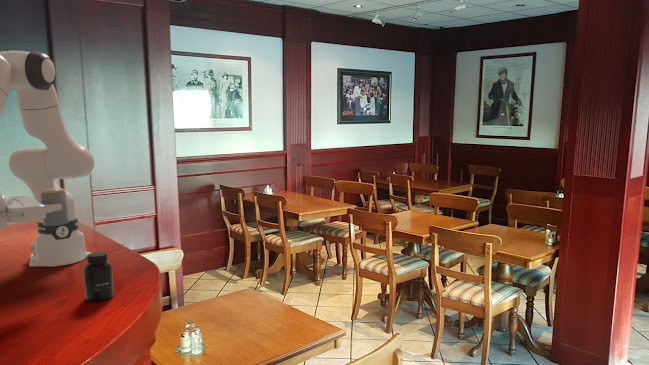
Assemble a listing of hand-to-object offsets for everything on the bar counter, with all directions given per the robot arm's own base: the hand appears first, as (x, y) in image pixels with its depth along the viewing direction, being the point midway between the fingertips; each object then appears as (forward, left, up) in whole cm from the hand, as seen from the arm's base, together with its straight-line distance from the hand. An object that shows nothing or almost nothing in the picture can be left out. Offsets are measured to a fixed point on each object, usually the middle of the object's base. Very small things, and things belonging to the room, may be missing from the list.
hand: (58, 204), depth 130 cm
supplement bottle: (+10, +6, -25) cm, 28 cm away
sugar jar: (0, -1, -5) cm, 5 cm away
